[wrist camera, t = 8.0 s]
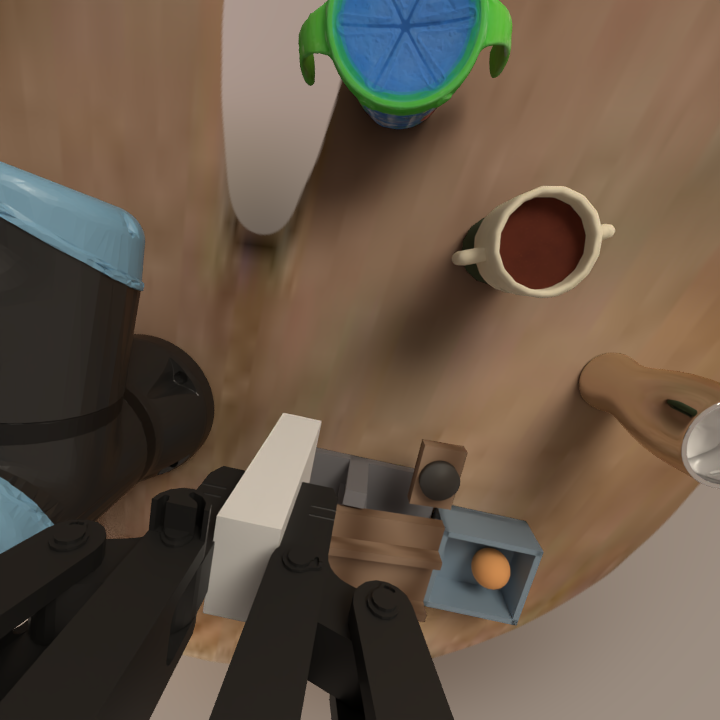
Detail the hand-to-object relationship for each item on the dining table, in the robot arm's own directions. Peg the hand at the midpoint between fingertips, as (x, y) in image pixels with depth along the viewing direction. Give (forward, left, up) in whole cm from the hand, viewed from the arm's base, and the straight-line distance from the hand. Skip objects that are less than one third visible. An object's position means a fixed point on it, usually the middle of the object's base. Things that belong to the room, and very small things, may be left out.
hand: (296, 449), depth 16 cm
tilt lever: (+4, -17, -22) cm, 28 cm away
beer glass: (+27, +1, -27) cm, 38 cm away
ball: (+20, -21, -23) cm, 37 cm away
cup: (+19, -21, -26) cm, 39 cm away
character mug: (+12, +11, -27) cm, 31 cm away
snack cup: (0, +23, -27) cm, 35 cm away
